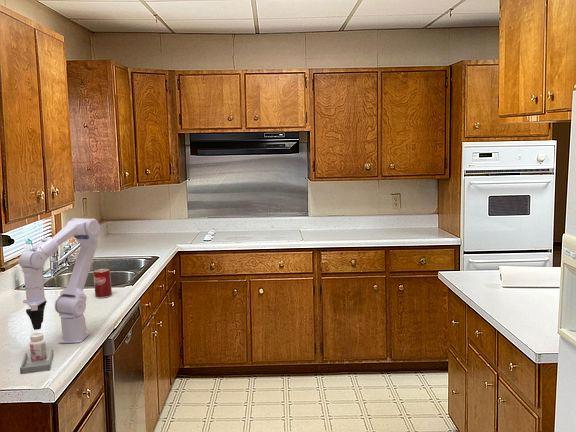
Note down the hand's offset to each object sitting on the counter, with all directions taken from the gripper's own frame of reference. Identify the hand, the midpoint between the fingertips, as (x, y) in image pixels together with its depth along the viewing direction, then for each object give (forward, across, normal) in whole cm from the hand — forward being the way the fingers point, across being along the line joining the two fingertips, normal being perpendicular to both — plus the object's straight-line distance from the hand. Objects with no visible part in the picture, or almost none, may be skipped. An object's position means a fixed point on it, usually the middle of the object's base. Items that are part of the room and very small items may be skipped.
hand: (38, 326), depth 221 cm
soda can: (+10, -71, +21) cm, 75 cm away
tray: (+9, +11, 0) cm, 15 cm away
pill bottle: (+10, +7, 0) cm, 12 cm away
